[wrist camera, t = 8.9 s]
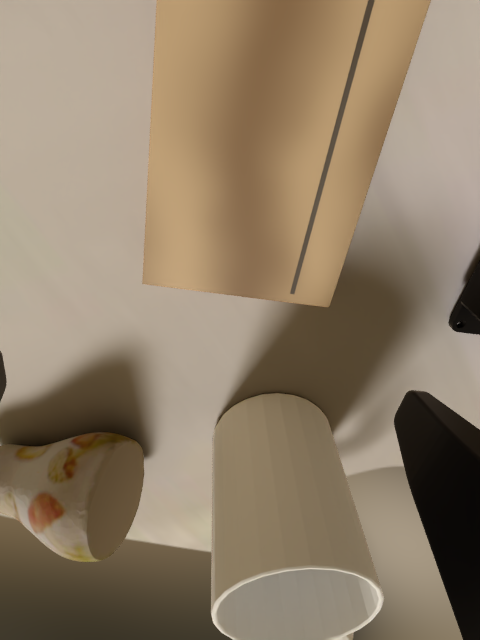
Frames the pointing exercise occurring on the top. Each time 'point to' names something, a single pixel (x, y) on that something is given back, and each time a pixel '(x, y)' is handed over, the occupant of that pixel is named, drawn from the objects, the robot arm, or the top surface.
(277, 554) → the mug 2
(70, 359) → the top surface
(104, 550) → the patterned white vase
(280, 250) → the board
